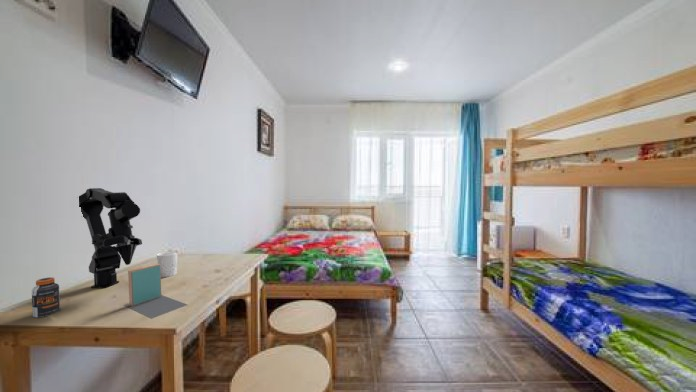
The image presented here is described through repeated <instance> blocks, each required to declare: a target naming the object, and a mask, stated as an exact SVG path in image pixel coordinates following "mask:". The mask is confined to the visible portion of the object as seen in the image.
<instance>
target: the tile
mask: <svg viewBox="0 0 696 392" xmlns="http://www.w3.org/2000/svg"><path fill="white" fill-rule="evenodd" d="M127 276H128V277H127V278H128V295H129V296H128V299H129V300H128V301H129V302H128V303H129V305H130V306H135V305H138V304H142V303H145V302H148V301H151V300H154V299H157V298H160V297H161V295H162V279H161V278H162V277H161V272H160V264H158V263H155V264H154V263H153V264H151V265H146V266H141V267H137V268H132V269H129V270H127Z"/></svg>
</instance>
